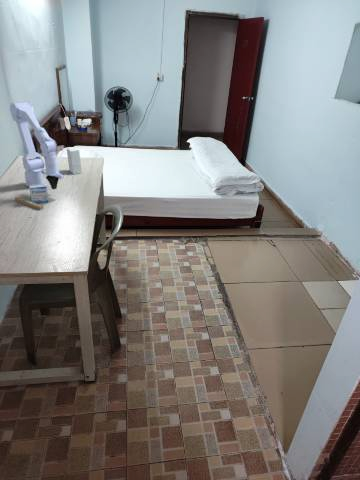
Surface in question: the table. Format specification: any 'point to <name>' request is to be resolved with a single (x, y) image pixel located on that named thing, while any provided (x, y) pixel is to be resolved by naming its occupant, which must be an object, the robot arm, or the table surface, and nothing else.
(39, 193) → the medicine box
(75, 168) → the skincare box
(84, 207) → the table surface
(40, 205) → the level mat
